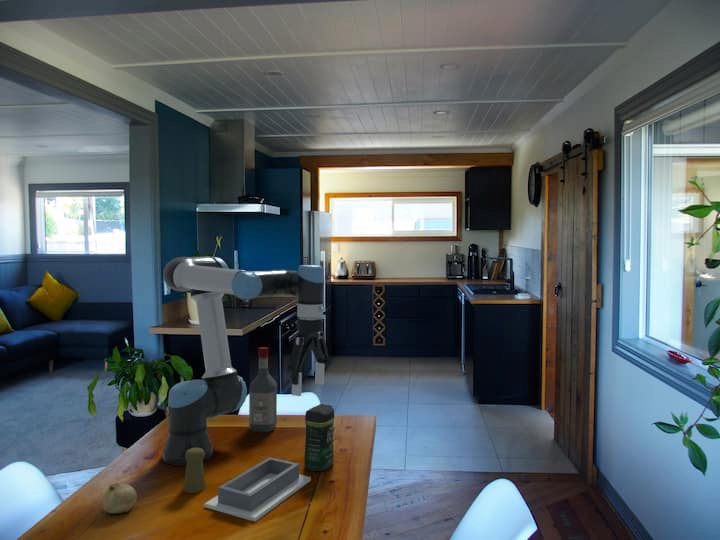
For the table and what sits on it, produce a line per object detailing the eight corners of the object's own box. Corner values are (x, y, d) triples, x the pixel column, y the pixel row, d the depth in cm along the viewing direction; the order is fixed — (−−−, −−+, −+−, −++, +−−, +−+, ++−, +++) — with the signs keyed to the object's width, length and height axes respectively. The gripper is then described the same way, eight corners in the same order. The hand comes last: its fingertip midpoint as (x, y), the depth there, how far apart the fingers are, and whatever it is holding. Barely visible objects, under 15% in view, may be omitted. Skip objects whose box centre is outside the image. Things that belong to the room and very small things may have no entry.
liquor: (273, 432, 192) (273, 350, 191) (248, 432, 192) (248, 350, 191) (277, 424, 201) (277, 346, 200) (253, 423, 201) (253, 345, 200)
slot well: (255, 521, 129) (255, 501, 129) (204, 507, 136) (204, 487, 136) (310, 480, 152) (310, 463, 152) (265, 469, 159) (265, 453, 159)
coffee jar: (323, 474, 157) (324, 412, 156) (300, 469, 160) (300, 409, 159) (337, 462, 165) (338, 403, 165) (315, 458, 169) (315, 400, 168)
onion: (123, 500, 139) (123, 473, 139) (143, 507, 135) (143, 480, 135) (95, 512, 132) (95, 485, 132) (115, 521, 128) (115, 492, 128)
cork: (210, 486, 148) (210, 447, 148) (195, 494, 143) (195, 454, 142) (194, 481, 151) (194, 443, 150) (178, 490, 145) (178, 451, 145)
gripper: (299, 324, 142) (297, 402, 143) (340, 314, 164) (338, 381, 165) (275, 322, 145) (274, 398, 146) (319, 312, 167) (317, 378, 168)
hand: (308, 389), depth 156 cm, fingers open, 13 cm apart
